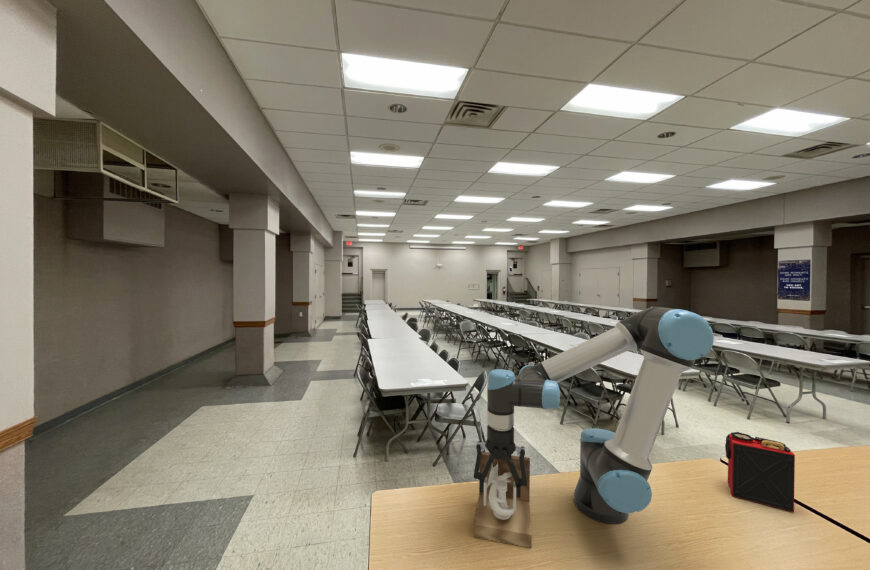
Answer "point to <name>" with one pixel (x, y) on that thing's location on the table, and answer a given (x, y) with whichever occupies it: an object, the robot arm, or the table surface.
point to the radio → (760, 470)
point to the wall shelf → (520, 522)
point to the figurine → (499, 499)
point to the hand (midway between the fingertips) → (499, 505)
